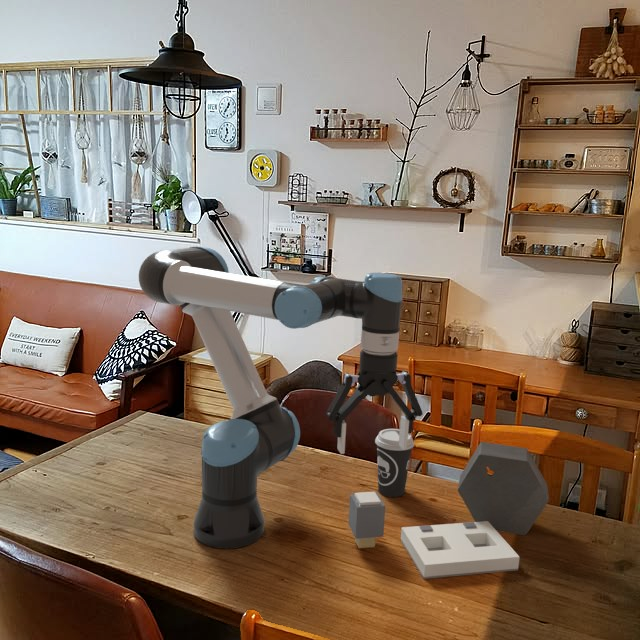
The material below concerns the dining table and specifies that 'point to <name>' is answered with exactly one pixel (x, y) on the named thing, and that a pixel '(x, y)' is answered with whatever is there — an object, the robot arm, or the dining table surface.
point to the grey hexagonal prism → (503, 488)
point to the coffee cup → (392, 462)
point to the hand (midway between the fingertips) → (372, 449)
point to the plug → (366, 518)
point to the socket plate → (458, 549)
